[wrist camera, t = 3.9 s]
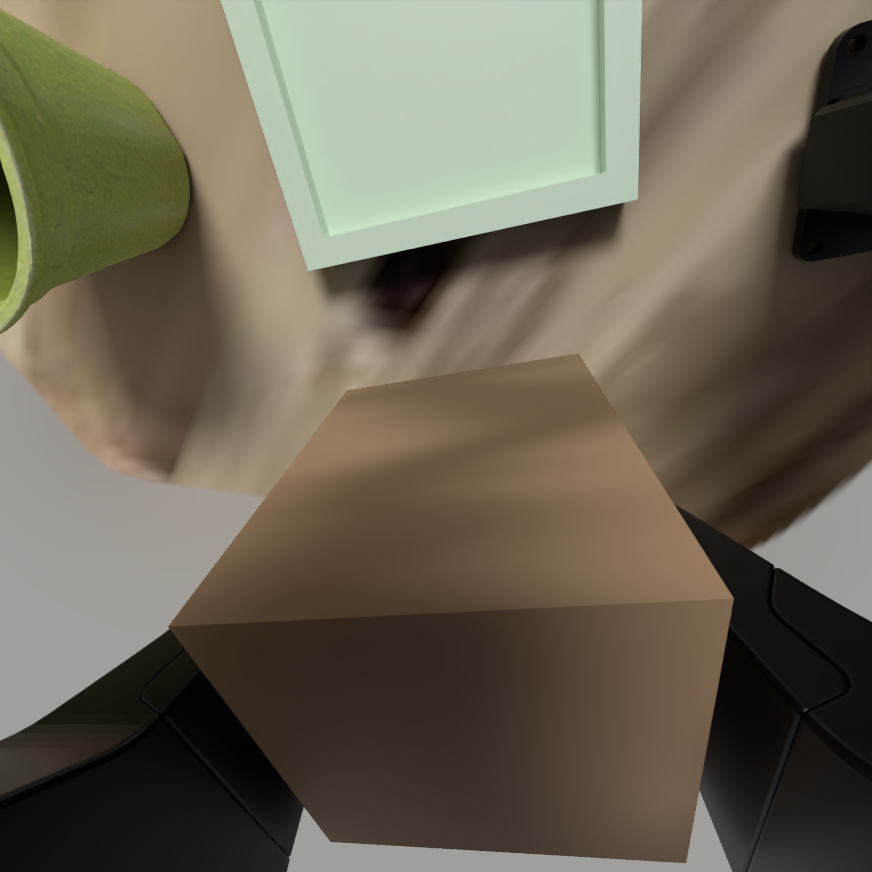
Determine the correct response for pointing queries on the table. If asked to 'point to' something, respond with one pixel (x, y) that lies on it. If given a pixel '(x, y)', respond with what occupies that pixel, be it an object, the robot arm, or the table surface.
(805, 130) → the table surface
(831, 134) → the robot arm
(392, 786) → the walnut block
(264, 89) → the green tray
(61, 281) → the plant pot
